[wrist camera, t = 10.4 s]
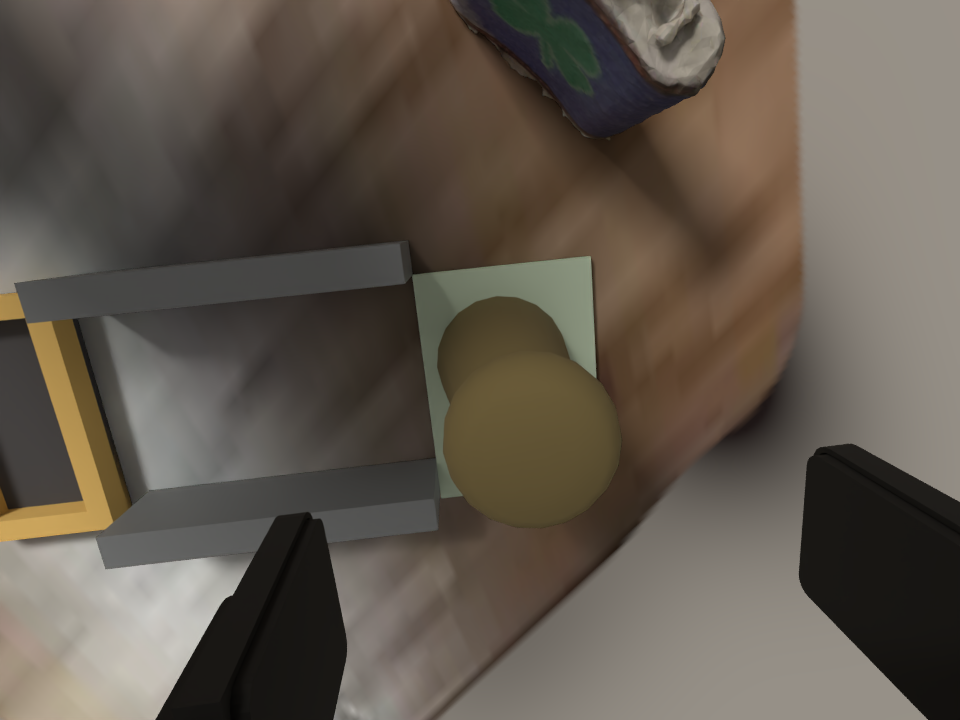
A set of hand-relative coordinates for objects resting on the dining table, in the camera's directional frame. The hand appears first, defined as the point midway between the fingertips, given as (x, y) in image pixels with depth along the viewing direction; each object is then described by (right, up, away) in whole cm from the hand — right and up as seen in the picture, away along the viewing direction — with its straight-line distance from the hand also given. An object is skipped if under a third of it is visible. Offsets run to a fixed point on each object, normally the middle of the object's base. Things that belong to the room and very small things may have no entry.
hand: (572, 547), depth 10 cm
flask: (+1, +16, +12) cm, 20 cm away
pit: (-22, +1, +14) cm, 27 cm away
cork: (-1, +4, +15) cm, 15 cm away
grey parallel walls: (-11, +2, +15) cm, 19 cm away
